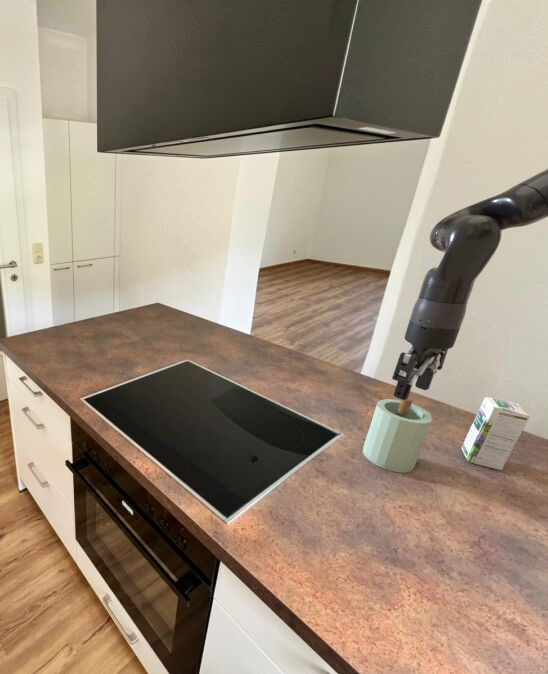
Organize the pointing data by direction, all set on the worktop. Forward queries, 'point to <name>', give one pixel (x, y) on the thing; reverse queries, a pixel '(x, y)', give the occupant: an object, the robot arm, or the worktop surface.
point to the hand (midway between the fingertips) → (410, 393)
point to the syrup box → (494, 433)
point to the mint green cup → (396, 436)
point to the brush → (404, 408)
